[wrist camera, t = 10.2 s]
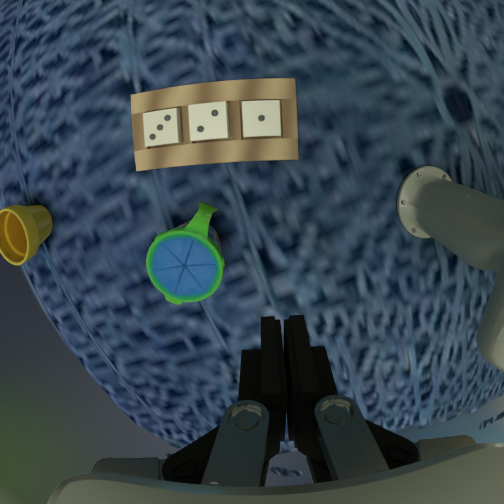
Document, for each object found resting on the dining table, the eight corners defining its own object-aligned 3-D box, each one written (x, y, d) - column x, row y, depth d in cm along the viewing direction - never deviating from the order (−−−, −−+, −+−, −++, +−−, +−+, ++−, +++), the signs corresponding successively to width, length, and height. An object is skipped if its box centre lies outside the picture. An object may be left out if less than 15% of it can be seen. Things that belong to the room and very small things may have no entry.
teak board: (293, 80, 38) (295, 78, 36) (296, 158, 42) (298, 159, 40) (135, 96, 38) (130, 95, 37) (141, 169, 43) (136, 171, 41)
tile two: (227, 103, 37) (225, 101, 34) (229, 137, 39) (227, 137, 36) (192, 106, 37) (187, 104, 35) (194, 140, 39) (190, 141, 36)
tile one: (278, 102, 38) (279, 99, 35) (279, 135, 40) (281, 135, 37) (242, 103, 38) (241, 101, 36) (244, 136, 40) (243, 136, 37)
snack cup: (206, 292, 51) (195, 327, 41) (152, 265, 49) (130, 294, 40) (249, 215, 46) (247, 237, 36) (188, 184, 44) (170, 197, 34)
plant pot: (19, 201, 45) (-13, 215, 36) (52, 189, 44) (18, 203, 35) (32, 248, 48) (3, 268, 39) (65, 242, 48) (36, 263, 39)
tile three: (181, 109, 39) (175, 107, 36) (183, 141, 40) (178, 142, 38) (149, 114, 39) (142, 113, 36) (151, 146, 41) (144, 146, 38)
